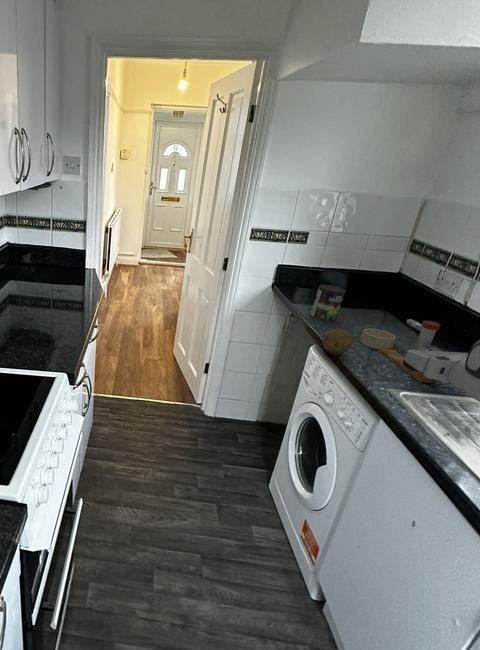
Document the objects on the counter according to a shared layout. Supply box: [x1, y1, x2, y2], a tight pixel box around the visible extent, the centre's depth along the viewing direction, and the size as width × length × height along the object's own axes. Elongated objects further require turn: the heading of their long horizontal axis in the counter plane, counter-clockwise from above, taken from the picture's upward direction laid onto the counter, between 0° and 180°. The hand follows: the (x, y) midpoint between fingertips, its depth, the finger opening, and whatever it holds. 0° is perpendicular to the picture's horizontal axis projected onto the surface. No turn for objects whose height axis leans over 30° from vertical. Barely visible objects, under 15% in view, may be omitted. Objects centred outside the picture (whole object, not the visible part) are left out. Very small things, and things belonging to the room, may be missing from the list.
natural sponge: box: [321, 328, 354, 356], centre depth 145 cm, size 9×9×10 cm
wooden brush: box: [377, 348, 438, 384], centre depth 141 cm, size 22×5×2 cm, turn 179°
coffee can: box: [309, 284, 347, 323], centre depth 179 cm, size 10×10×14 cm
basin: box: [359, 327, 397, 350], centre depth 156 cm, size 10×10×5 cm
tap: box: [403, 318, 441, 371], centre depth 138 cm, size 12×5×16 cm, turn 179°
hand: (425, 349), depth 133 cm, fingers closed
